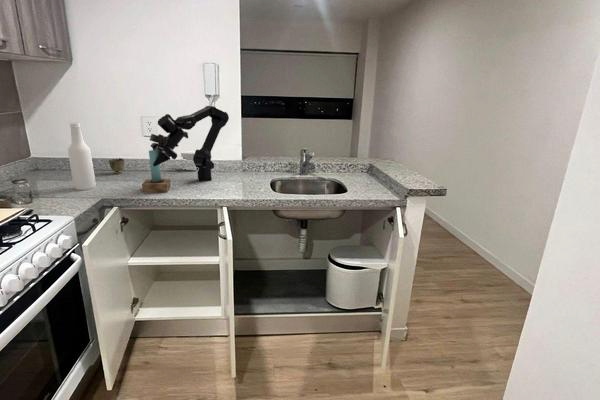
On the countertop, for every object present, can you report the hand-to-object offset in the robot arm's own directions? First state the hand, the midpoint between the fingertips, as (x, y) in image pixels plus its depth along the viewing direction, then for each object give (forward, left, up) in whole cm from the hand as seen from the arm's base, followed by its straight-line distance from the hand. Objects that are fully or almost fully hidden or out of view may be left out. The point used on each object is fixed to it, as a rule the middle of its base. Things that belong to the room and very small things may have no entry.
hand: (151, 164), depth 159 cm
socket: (-1, -1, -12) cm, 12 cm away
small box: (-12, -44, -12) cm, 47 cm away
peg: (-1, -1, -8) cm, 8 cm away
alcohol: (+32, -7, -12) cm, 35 cm away
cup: (+26, -37, -12) cm, 46 cm away
